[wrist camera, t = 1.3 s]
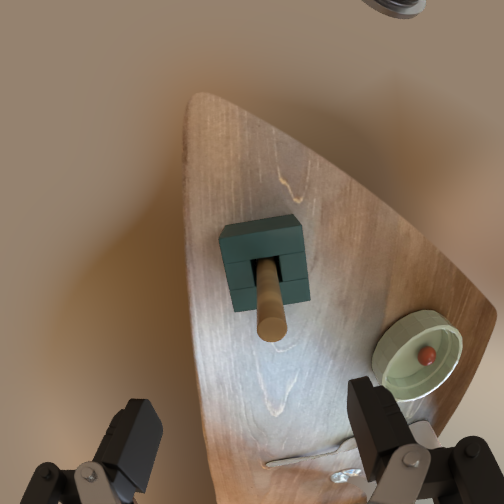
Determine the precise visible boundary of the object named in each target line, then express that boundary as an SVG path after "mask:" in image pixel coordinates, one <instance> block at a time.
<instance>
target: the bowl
mask: <svg viewBox="0 0 504 504" xmlns="http://www.w3.org/2000/svg"><path fill="white" fill-rule="evenodd" d="M425 346H431V347H433V348H434V349H435V351H436V359H435V361H434V362H433V363H432V364H431V365H429V366H423V365H421V364H420V363H419V362H418V358H417V356H418V353H419V351H420V349H422V348H423V347H425ZM461 352H462V337H461V335H460V333H459V331H458V330H457V329H456V328H455V327H454V326H453V325H452V324H451V323H450V322H449V321H448V320H447V319H446V318H445V317H444V316H443V315H441V314H440V313H438V312H436V311H434V310H421V311H417V312H414V313H410V314H409V315H407V316H405V317H404V318H402V319H400V320H398V321H397V322H396V323H395V324H394V325H393V326H392V327H390V328H389V329H388V330H387V331H386V332H385V334H384V335H383V337H382V338H381V339H380V341H379V342H378V344H377V346H376V349H375V351H374V353H373V356H372V370H373V372H374V375H375V377H376V379H377V381H378V383H379V385H383V386H384V387H385V388H387V389H388V390H389V391H391V392H392V394H393V396H394V398H395V400H396V402H400V403H401V402H410V401H413V400H416V399H419V398H422V397H424V396H426V395H427V394H429V393H431V392H432V391H434V390H435V389H436V388H437V387H439V386H440V385H441V384H442V383H443V382H444V381H445V380H446V379H447V378H448V377H449V375H450V374H451V373H452V372H453V370H454V369H455V367H456V365H457V363H458V361H459V359H460V355H461Z"/></svg>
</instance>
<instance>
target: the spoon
mask: <svg viewBox="0 0 504 504" xmlns="http://www.w3.org/2000/svg"><path fill="white" fill-rule="evenodd" d="M354 448H357V444H356V440H355V437H354V438H350V439H348V440H346V441H344V442H343V443H342V444H341V445H340V447H339V448H338V450H336V451H334V452H331V453H326V454H321V455H316V456H309V457H299V458H291V459H284V460H277V461H271V462H268V463H267V464H266V466H269V467H274V466H280V465H285V464H290V463H295V462H300V461H305V460H310V459H315V458H319V457H323V456H328V455H333V454H338V453H341V452H345V451H349V450H351V449H354Z"/></svg>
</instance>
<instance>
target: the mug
mask: <svg viewBox="0 0 504 504" xmlns="http://www.w3.org/2000/svg"><path fill="white" fill-rule="evenodd" d="M409 428H410V430H411V432H412V434H413V436H414V438H415V440H416V442H417V443H418V444H419V445H422V446H424V447H425V448H427V449H443V448H445V447H442V446H441V444H440V442H439V440H438V438H437V436H436V434H435V433H434V431H433V429H432V427H431V425H430V423H429V422H428V421H418V422H415V423H413V424H411V425H409Z"/></svg>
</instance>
